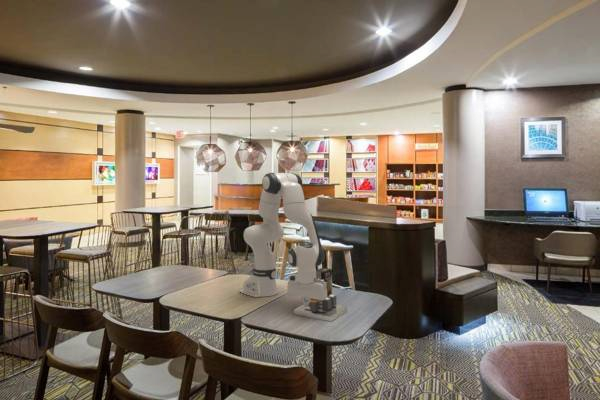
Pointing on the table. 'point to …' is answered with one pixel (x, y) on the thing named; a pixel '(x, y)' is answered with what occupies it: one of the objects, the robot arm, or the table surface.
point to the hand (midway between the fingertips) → (307, 306)
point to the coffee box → (325, 278)
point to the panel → (321, 312)
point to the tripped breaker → (314, 305)
